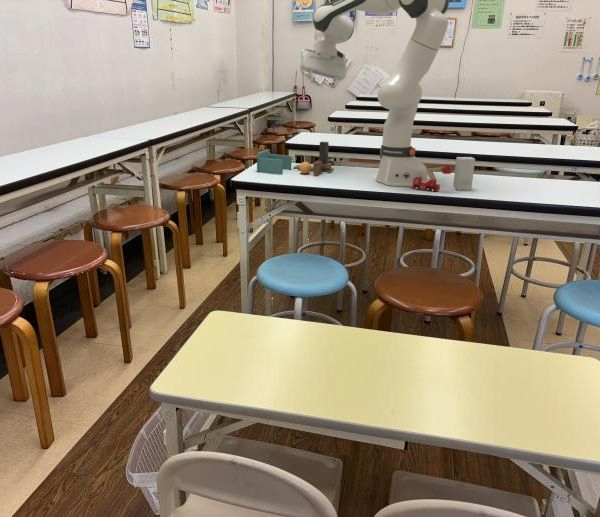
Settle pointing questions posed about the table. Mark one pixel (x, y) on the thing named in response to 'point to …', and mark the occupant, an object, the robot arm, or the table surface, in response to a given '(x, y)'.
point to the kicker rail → (321, 169)
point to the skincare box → (464, 172)
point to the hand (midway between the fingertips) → (322, 84)
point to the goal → (272, 162)
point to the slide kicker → (322, 159)
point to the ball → (305, 167)
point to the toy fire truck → (431, 183)
